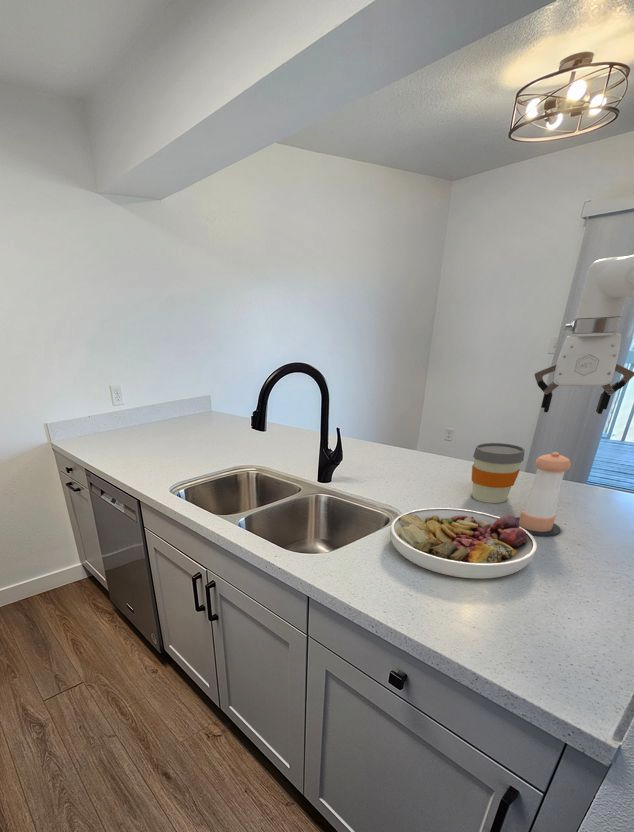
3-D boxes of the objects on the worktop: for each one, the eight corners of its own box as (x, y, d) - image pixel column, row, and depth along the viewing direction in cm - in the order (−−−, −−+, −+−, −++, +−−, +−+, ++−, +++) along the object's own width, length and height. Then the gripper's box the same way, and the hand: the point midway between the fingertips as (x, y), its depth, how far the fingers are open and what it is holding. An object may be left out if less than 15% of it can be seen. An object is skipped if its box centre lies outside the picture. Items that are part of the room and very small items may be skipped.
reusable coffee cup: (512, 508, 123) (525, 456, 116) (463, 501, 129) (472, 451, 122) (513, 493, 132) (526, 444, 125) (467, 488, 138) (477, 441, 131)
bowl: (433, 594, 87) (439, 560, 84) (367, 532, 114) (370, 504, 111) (566, 575, 91) (577, 541, 87) (472, 519, 118) (478, 492, 114)
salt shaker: (554, 524, 111) (577, 451, 103) (548, 534, 107) (571, 458, 98) (522, 517, 116) (541, 447, 107) (514, 526, 111) (534, 453, 103)
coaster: (558, 522, 113) (558, 520, 113) (561, 539, 105) (562, 538, 105) (509, 515, 118) (509, 514, 118) (508, 531, 110) (508, 530, 110)
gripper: (545, 330, 91) (526, 413, 99) (654, 325, 83) (624, 416, 91) (544, 329, 97) (525, 408, 105) (646, 324, 89) (618, 410, 96)
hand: (571, 412), depth 98 cm, fingers open, 9 cm apart
